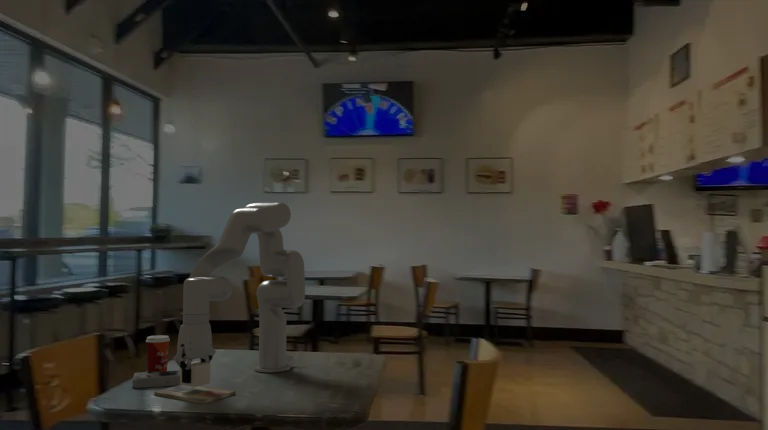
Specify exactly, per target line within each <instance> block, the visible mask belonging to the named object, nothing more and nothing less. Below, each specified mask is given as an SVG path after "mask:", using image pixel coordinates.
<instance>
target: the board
mask: <svg viewBox="0 0 768 430" xmlns="http://www.w3.org/2000/svg"><path fill="white" fill-rule="evenodd" d="M153 395H154V396H157V397H163V398H168V399H175V400H179V401H186V402H192V403H196V404H202V405H203V404H206V403H210V402H211V403H212V402H214V401H218V400H221V399H224V398H229V397H232V396H234V395H237V391H236V390H233V389H232V390H231V389H226V388H225V389H224V388H220V387H219V388H218V387H213V386H208V385H207V386H206V385H201V386H197V387H190V386H184V385H178V386H169V387H167V388H163V389H161V390H157V391H154V392H153Z"/></svg>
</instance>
